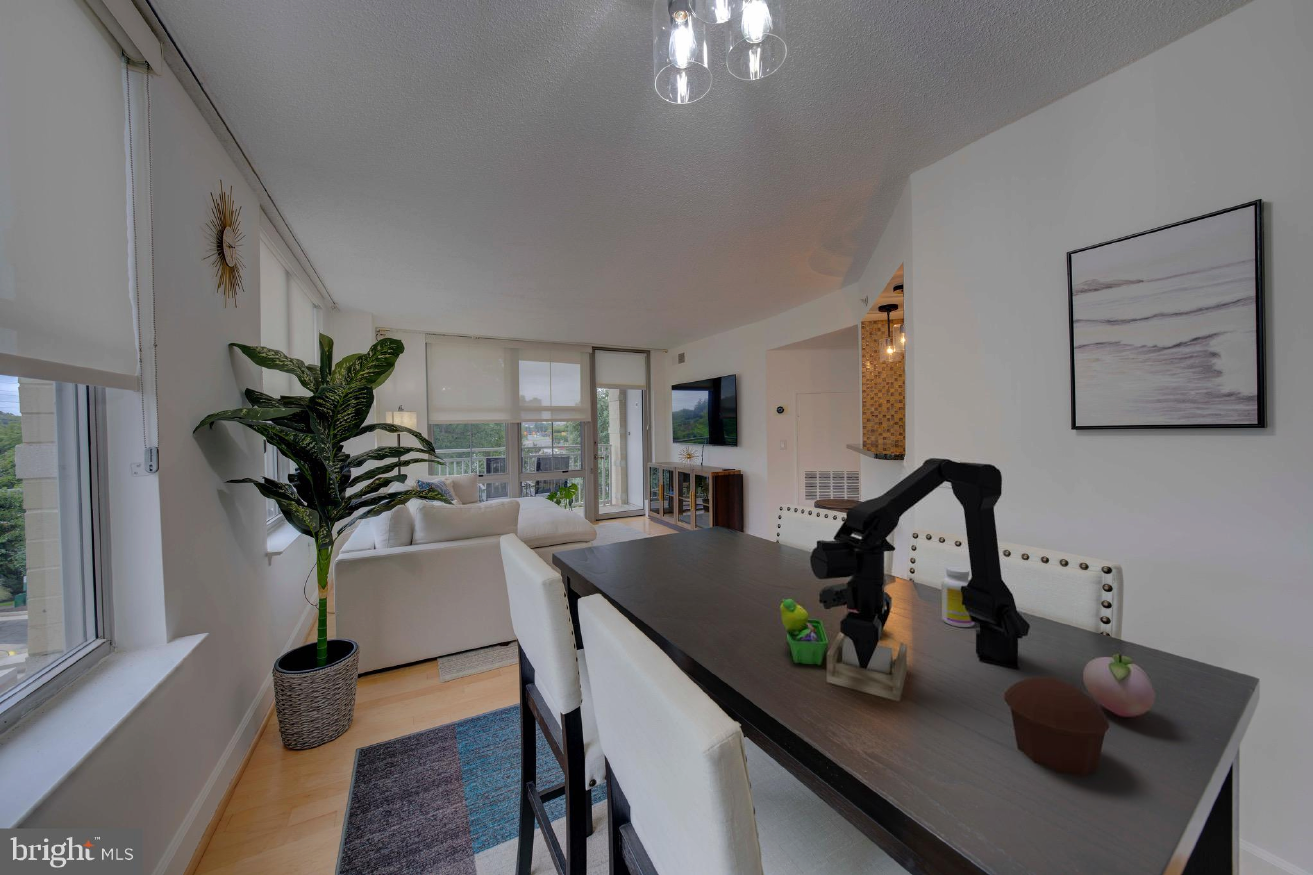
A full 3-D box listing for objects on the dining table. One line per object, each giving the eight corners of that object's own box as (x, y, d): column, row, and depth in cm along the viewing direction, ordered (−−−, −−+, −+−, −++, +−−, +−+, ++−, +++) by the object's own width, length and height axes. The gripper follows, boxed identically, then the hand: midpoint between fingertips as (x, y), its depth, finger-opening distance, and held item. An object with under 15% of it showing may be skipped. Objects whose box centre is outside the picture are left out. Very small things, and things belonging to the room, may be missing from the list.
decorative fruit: (1081, 694, 84) (1082, 637, 83) (1148, 711, 78) (1149, 650, 78) (1084, 719, 76) (1085, 657, 76) (1158, 740, 71) (1159, 673, 71)
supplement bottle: (980, 628, 111) (981, 573, 111) (951, 628, 111) (952, 573, 111) (963, 617, 118) (963, 565, 118) (935, 617, 118) (935, 565, 118)
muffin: (1059, 728, 74) (1060, 664, 74) (1133, 780, 63) (1134, 705, 63) (985, 730, 74) (985, 666, 74) (1046, 784, 63) (1046, 708, 62)
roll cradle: (906, 671, 92) (906, 644, 92) (899, 701, 82) (899, 671, 82) (840, 655, 98) (840, 630, 98) (826, 681, 88) (826, 653, 88)
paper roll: (893, 669, 90) (893, 643, 90) (890, 682, 86) (889, 655, 86) (847, 658, 94) (847, 633, 94) (841, 670, 90) (841, 644, 90)
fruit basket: (828, 668, 93) (828, 611, 93) (781, 664, 95) (781, 608, 95) (821, 643, 104) (820, 591, 104) (778, 639, 106) (778, 589, 106)
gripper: (833, 557, 102) (834, 630, 102) (810, 581, 86) (810, 667, 86) (892, 564, 96) (892, 642, 96) (878, 592, 80) (878, 684, 80)
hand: (867, 657), depth 90 cm, fingers open, 9 cm apart
